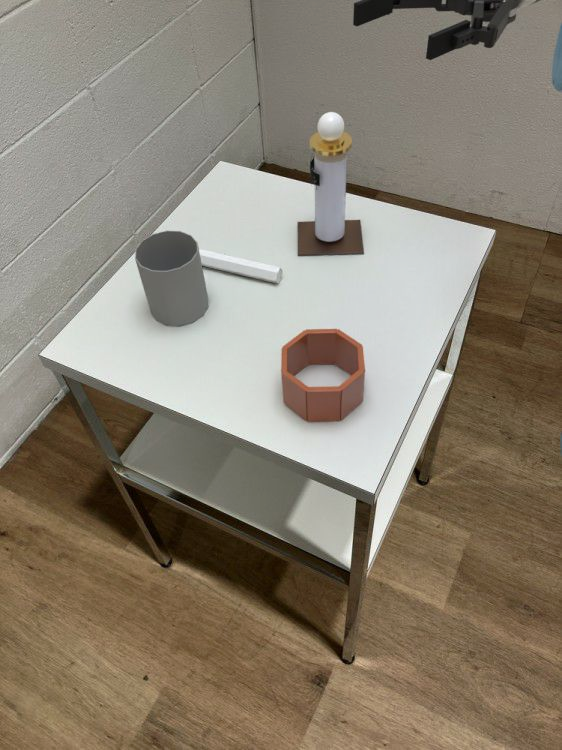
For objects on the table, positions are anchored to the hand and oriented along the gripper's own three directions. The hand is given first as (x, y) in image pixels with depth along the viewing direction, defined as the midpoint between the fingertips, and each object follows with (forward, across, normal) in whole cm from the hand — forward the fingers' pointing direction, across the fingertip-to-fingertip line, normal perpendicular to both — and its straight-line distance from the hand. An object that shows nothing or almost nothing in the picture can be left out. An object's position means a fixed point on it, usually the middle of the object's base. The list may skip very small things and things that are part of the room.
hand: (390, 30), depth 81 cm
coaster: (+10, 0, -28) cm, 30 cm away
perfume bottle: (+10, 0, -28) cm, 29 cm away
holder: (+30, -22, -28) cm, 47 cm away
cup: (+36, +2, -28) cm, 46 cm away
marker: (+26, +4, -28) cm, 38 cm away
